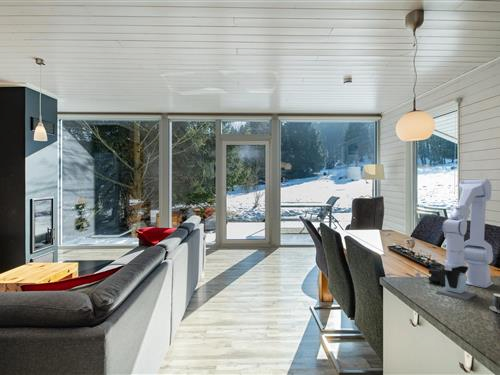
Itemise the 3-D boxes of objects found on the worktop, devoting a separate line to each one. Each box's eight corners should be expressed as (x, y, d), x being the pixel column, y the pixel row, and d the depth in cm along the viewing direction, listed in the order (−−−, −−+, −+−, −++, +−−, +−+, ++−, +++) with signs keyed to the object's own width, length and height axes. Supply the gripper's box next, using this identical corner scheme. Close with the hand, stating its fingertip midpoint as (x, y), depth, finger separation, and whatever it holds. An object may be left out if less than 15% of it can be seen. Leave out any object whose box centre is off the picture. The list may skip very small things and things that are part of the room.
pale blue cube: (451, 287, 120) (450, 270, 120) (466, 290, 116) (465, 273, 116) (445, 290, 117) (445, 273, 117) (461, 293, 113) (460, 275, 113)
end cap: (448, 287, 125) (448, 270, 125) (428, 284, 129) (428, 268, 129) (450, 281, 133) (449, 265, 133) (431, 278, 137) (431, 263, 137)
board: (446, 288, 124) (446, 285, 124) (476, 294, 116) (476, 291, 116) (436, 293, 118) (436, 290, 118) (466, 300, 110) (466, 297, 110)
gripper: (450, 247, 124) (451, 280, 124) (435, 251, 116) (436, 287, 115) (471, 249, 119) (472, 284, 119) (456, 254, 110) (457, 292, 110)
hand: (456, 286), depth 117 cm, fingers closed on pale blue cube, 5 cm apart
